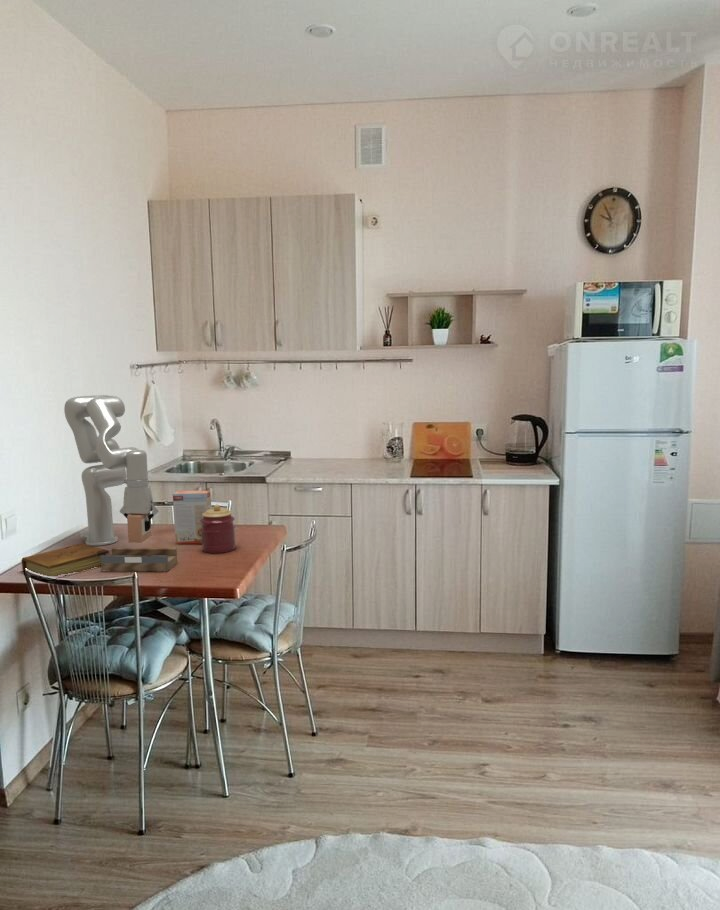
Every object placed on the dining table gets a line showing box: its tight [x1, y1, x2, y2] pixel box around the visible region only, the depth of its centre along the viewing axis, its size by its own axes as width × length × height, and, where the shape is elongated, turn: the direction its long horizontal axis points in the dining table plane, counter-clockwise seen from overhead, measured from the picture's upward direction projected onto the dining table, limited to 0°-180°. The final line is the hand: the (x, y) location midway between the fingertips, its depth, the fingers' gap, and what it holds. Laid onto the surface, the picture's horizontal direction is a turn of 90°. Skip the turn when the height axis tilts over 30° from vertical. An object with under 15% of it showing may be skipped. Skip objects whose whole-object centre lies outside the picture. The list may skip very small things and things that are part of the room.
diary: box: [21, 543, 110, 576], centre depth 260 cm, size 23×19×6 cm
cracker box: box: [172, 490, 212, 545], centre depth 290 cm, size 14×6×21 cm, turn 84°
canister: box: [200, 504, 237, 554], centre depth 279 cm, size 13×13×18 cm
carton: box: [126, 511, 153, 544], centre depth 273 cm, size 5×10×10 cm, turn 175°
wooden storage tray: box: [100, 547, 178, 573], centre depth 258 cm, size 24×11×6 cm, turn 85°
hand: (140, 529), depth 273 cm, fingers closed on carton, 5 cm apart
